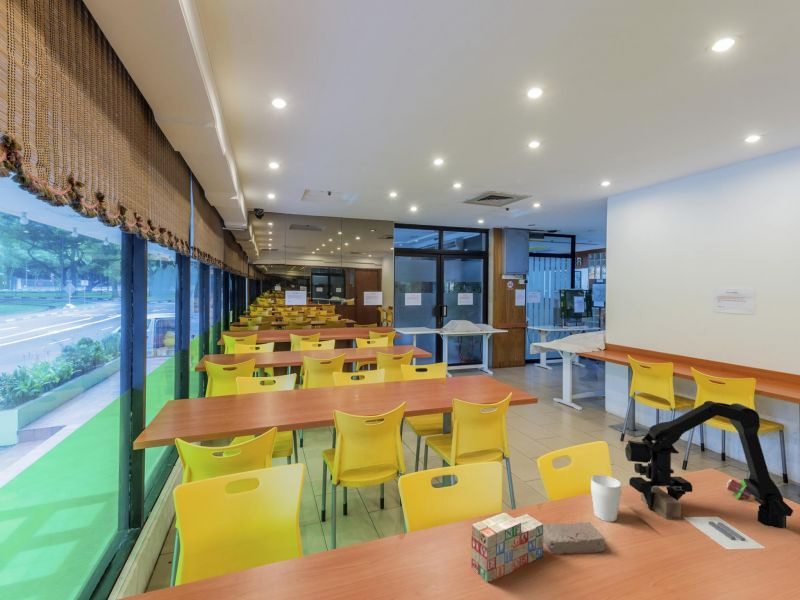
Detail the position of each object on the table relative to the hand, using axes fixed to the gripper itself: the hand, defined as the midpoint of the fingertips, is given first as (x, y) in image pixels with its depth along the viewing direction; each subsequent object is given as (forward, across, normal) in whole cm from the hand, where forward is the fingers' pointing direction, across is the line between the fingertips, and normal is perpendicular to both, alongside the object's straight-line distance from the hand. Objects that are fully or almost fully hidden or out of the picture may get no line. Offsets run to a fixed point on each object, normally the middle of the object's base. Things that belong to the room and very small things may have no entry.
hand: (660, 509), depth 131 cm
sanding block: (+2, 0, 0) cm, 2 cm away
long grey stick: (0, -12, +14) cm, 18 cm away
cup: (+2, +20, +1) cm, 20 cm away
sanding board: (+2, -10, +13) cm, 16 cm away
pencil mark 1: (0, -10, +13) cm, 16 cm away
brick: (+2, +39, +15) cm, 42 cm away
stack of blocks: (+2, +61, +22) cm, 64 cm away
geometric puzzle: (+2, -38, -9) cm, 39 cm away
